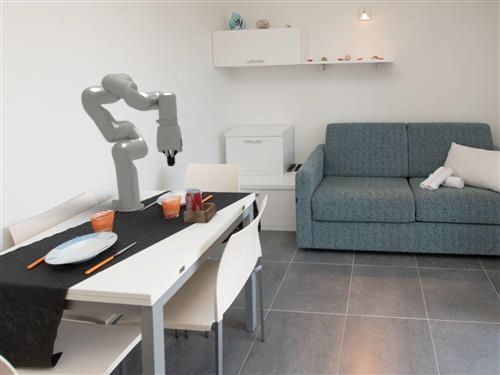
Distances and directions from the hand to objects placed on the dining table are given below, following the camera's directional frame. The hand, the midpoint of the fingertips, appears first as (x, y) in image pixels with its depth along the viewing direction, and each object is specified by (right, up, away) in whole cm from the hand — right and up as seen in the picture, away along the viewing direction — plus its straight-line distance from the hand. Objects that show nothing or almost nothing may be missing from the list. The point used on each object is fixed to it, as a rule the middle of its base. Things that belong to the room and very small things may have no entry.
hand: (171, 165), depth 215 cm
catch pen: (+12, -22, +1) cm, 25 cm away
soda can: (+10, -23, -1) cm, 25 cm away
